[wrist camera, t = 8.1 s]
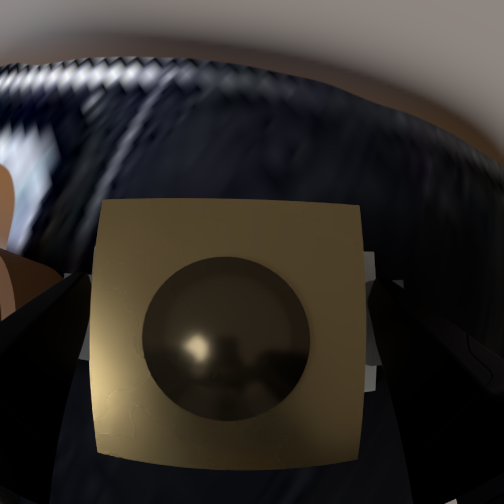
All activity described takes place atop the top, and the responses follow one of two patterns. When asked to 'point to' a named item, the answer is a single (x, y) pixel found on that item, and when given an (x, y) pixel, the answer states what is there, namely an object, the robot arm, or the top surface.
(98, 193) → the top surface
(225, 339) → the gold tall square block
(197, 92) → the top surface
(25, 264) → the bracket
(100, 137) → the top surface
